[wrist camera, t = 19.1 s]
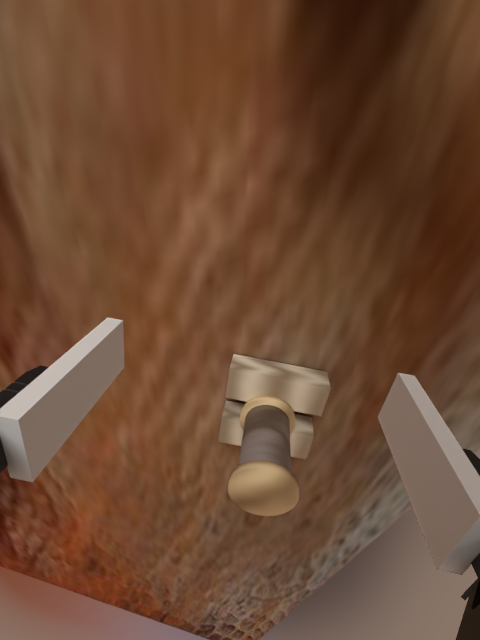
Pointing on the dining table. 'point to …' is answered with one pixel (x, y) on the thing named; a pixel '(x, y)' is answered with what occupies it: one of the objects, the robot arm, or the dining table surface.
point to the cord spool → (265, 459)
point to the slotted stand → (279, 381)
